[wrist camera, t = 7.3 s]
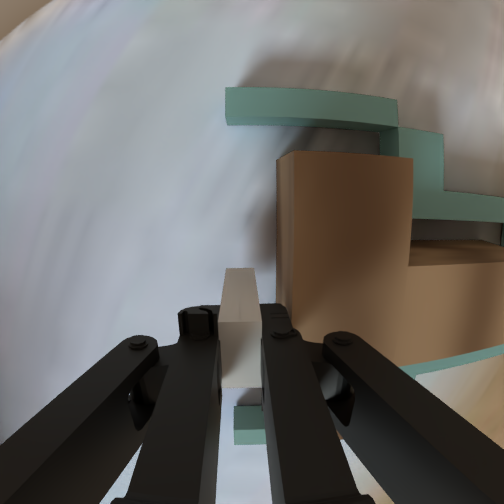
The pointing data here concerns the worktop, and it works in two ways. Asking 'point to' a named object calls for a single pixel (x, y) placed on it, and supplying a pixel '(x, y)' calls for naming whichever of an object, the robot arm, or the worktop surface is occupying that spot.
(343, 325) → the t block
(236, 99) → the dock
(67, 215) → the worktop surface
